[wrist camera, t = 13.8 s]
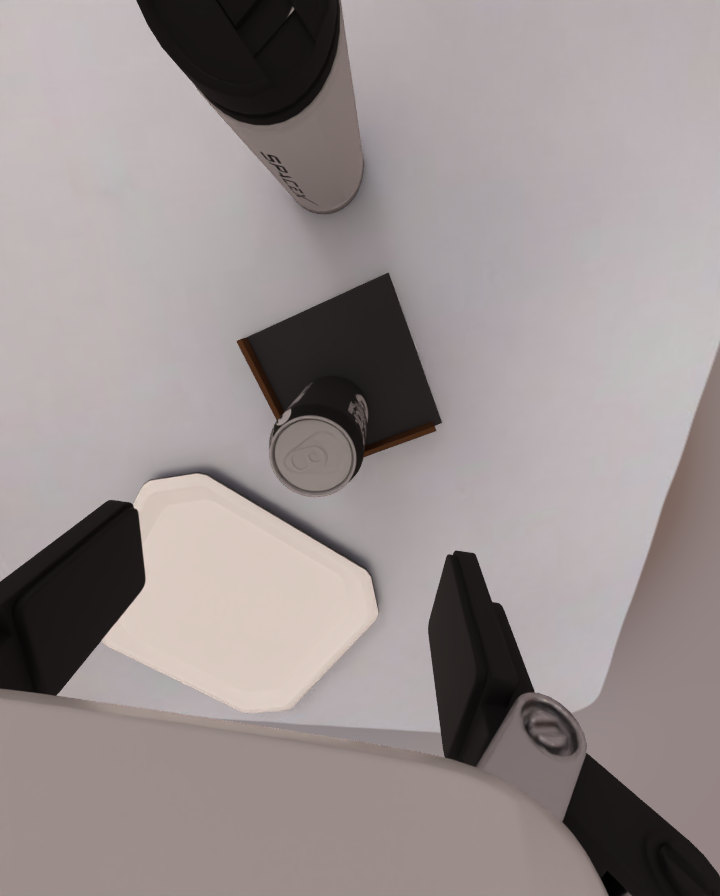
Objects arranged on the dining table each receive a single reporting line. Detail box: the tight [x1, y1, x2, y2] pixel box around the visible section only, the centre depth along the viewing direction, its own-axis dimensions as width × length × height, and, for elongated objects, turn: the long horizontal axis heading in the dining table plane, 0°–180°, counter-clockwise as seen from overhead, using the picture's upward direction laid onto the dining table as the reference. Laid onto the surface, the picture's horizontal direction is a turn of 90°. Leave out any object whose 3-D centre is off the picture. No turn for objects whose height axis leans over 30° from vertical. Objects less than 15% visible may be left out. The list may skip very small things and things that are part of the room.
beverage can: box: [269, 376, 369, 497], centre depth 30 cm, size 7×7×12 cm
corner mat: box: [237, 273, 442, 457], centre depth 34 cm, size 14×14×2 cm
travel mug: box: [137, 0, 364, 214], centre depth 20 cm, size 6×7×20 cm
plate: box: [101, 472, 379, 713], centre depth 45 cm, size 29×29×2 cm
